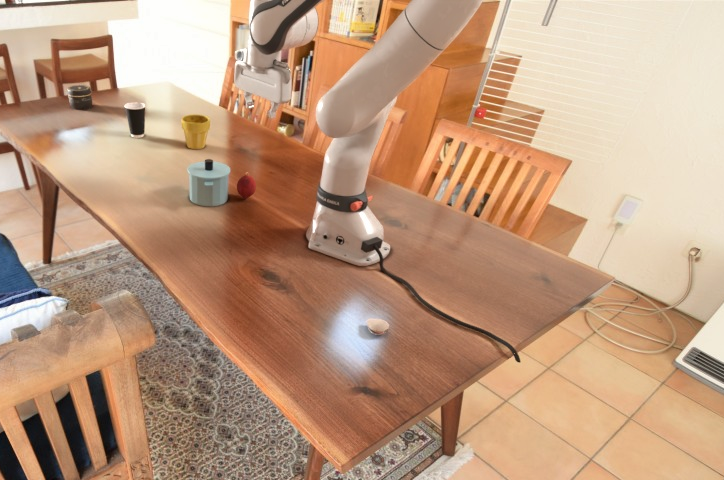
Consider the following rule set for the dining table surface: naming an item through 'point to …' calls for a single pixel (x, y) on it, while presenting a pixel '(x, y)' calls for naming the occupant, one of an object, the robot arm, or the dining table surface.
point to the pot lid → (208, 169)
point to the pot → (208, 191)
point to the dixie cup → (136, 118)
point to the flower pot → (195, 130)
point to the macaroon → (377, 326)
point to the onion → (246, 186)
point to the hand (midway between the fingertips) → (260, 113)
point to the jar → (80, 97)
